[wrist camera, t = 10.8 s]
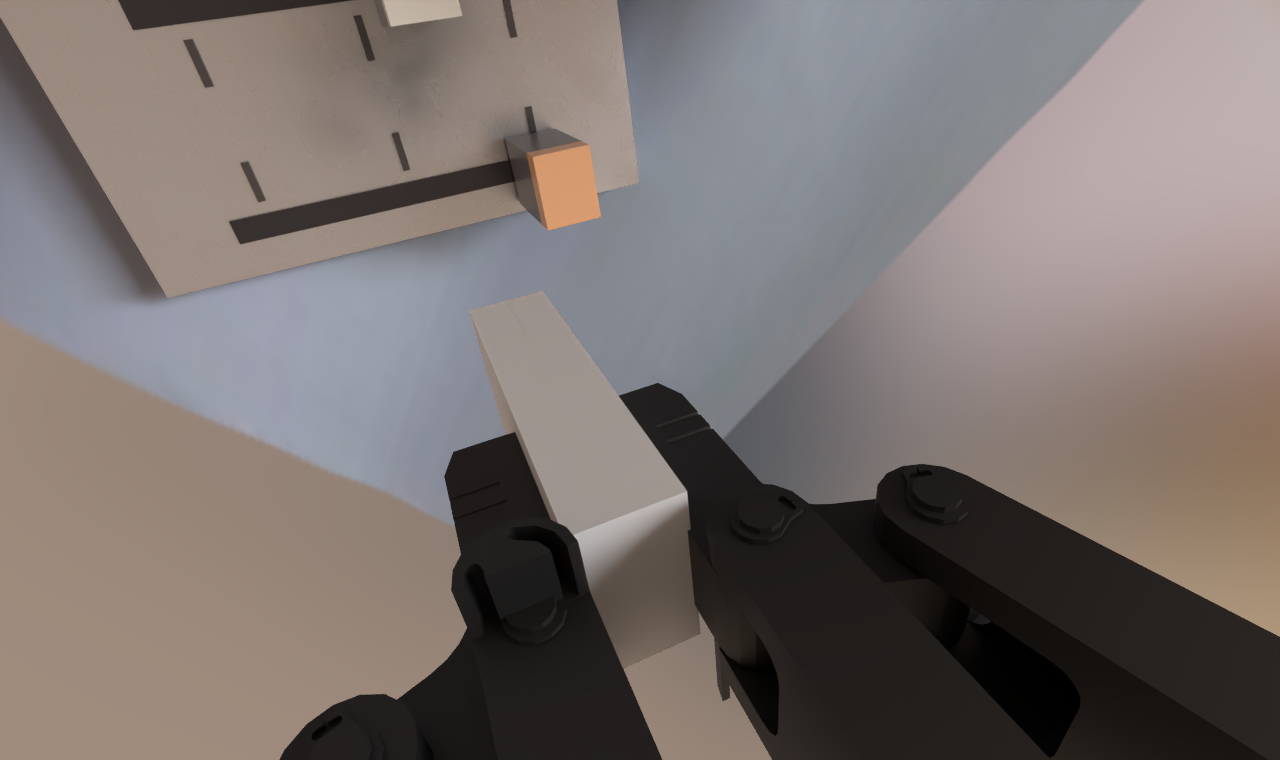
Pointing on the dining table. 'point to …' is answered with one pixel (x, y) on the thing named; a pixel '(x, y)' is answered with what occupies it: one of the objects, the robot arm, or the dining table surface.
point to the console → (317, 118)
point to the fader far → (554, 177)
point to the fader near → (415, 11)
